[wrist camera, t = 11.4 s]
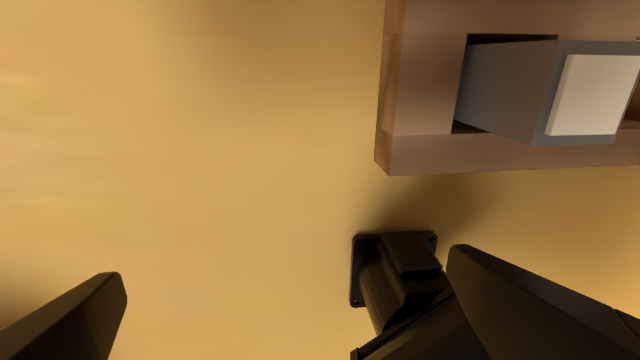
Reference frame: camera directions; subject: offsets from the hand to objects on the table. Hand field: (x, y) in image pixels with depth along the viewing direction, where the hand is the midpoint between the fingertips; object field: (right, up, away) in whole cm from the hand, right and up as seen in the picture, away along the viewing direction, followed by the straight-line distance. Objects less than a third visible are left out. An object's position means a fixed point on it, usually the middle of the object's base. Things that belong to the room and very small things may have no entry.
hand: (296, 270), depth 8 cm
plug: (+10, +9, +11) cm, 17 cm away
